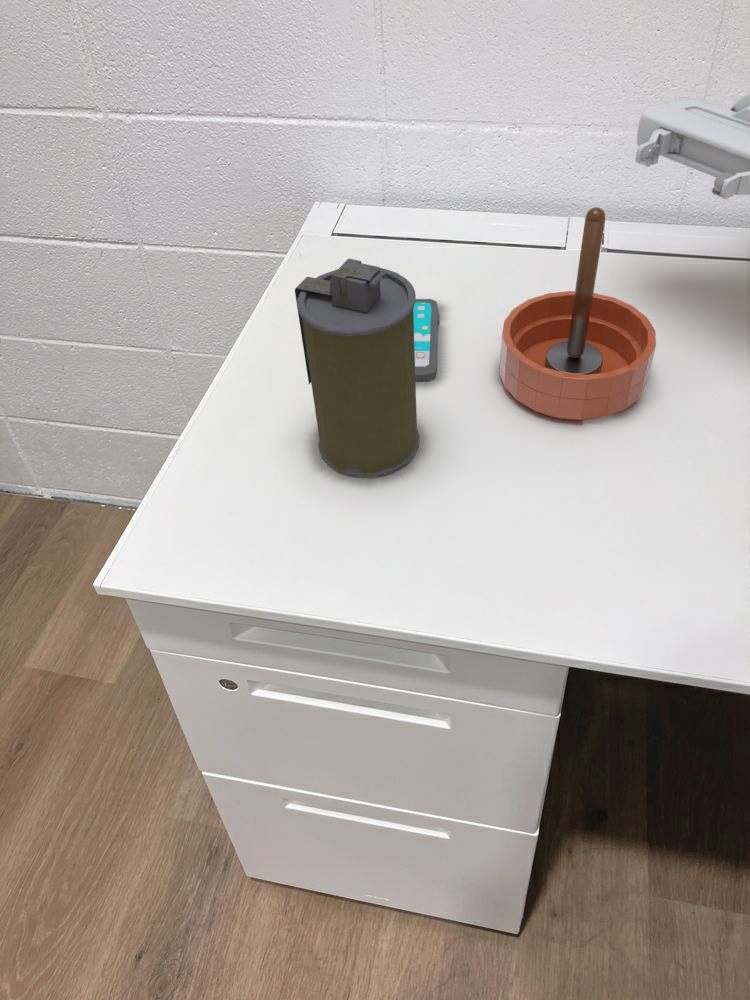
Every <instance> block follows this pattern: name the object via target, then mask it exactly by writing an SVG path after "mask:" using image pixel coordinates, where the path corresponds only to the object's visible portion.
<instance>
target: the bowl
mask: <svg viewBox="0 0 750 1000" xmlns="http://www.w3.org/2000/svg"><path fill="white" fill-rule="evenodd" d="M574 295H575V290H566V291H558V292H548V293H545V294H543V295H539V296H536V297H532V298H529V299H526V300H525V301H524V302H522V303H520V304H519V305H518V306H516V307H514V308H513V309H512V310H511V311H510V313H509V314H508V316H507V317H506V318H505V319H504V321H503V327H502V332H501V343H500V344H501V345H500V356H499V357H500V359H499V372H498V373H499V375H500V379H501V381H502V384H503V387H504V388H505V389H506V390H507V392H508V393H510V395H511V396H512V397H513V398H514V399H515V400H516V401H517V402H519V403H520V404H522V405H523V406H525V407H526V408H529V409H530V410H532V411H534V412H536V413H539V414H541V415H544V416H547V417H550V418H554V419H560V420H568V421H589V420H596V419H602V418H605V417H608V416H611V415H613V414H616V413H619V412H621V411H624V410H626V409H627V408H629V407H631V406H632V405H633V404H634V403H635V402H637V401H638V400H639V399H640V398H641V396H642V394H643V392H644V391H645V389H646V387H647V384H648V381H649V376H650V372H651V368H652V364H653V360H654V356H655V352H656V347H657V337H656V336H657V335H656V330H655V328H654V326H653V324H652V323H651V321H650V319H649V318H648V317H647V315H644V313H642V312H641V311H640V310H639V309H637V308H636V307H635V306H633V305H632V304H629V303H627V302H625V301H623V300H621V299H619V298H617V297H613V296H609V295H605V294H600V293H597V292H593V298H592V305H591V311H590V317H589V323H588V330H587V336H586V342H585V343H588V344H591V345H593V346H594V347H596V348H597V349H598V350H599V351H600V352H601V354H602V356H603V363H602V369H601V373H598V374H589V375H584V374H571V373H563V372H560V371H556V370H552V369H549V368H545V360H546V353H547V351H548V350H549V348H550V347H551V346H553V345H555V344H557V343H559V342H563V341H568V338H569V331H570V324H571V317H572V309H573V302H574Z"/></svg>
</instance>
